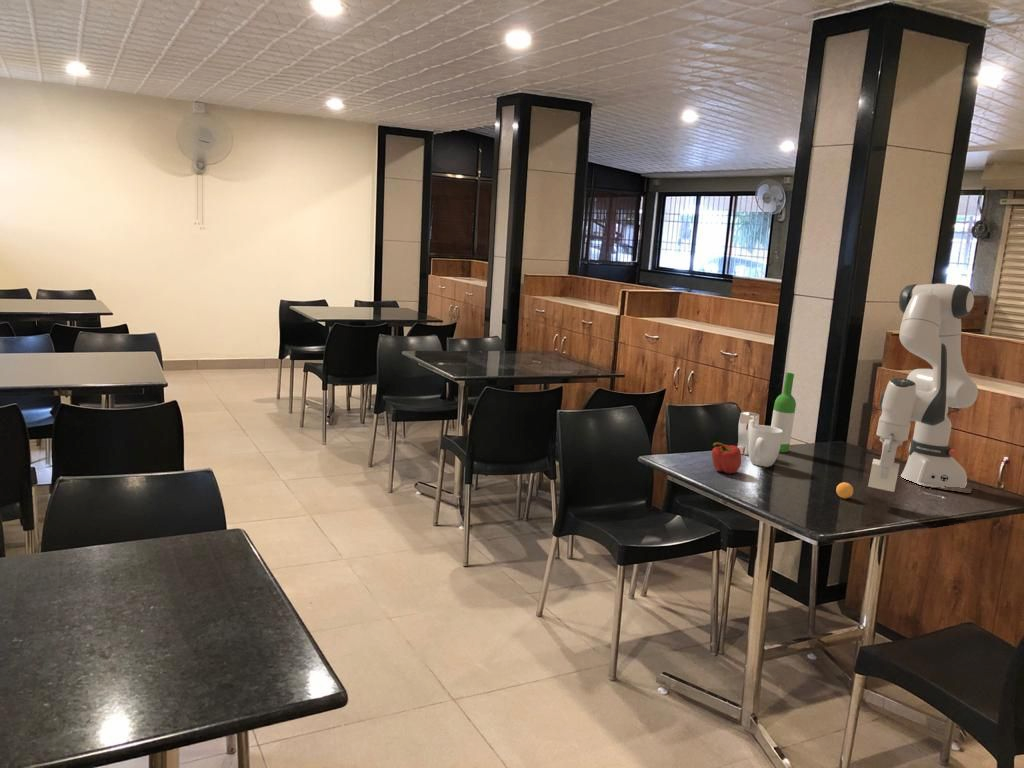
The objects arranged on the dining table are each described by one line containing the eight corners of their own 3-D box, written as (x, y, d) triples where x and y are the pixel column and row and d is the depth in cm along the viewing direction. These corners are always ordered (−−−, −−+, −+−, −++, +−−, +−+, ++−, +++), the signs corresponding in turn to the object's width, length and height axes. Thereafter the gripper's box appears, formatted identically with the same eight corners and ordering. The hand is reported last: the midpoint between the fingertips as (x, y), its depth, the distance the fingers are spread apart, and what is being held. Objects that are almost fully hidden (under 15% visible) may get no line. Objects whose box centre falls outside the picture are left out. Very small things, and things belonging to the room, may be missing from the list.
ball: (852, 497, 259) (855, 482, 258) (851, 501, 254) (854, 486, 253) (835, 494, 261) (838, 479, 260) (834, 498, 256) (836, 482, 255)
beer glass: (756, 456, 300) (762, 416, 297) (737, 454, 300) (743, 414, 297) (750, 451, 307) (756, 412, 304) (732, 449, 307) (738, 410, 304)
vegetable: (716, 476, 269) (720, 446, 267) (701, 466, 279) (705, 438, 277) (745, 476, 271) (750, 447, 270) (730, 467, 281) (734, 439, 280)
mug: (770, 473, 278) (775, 436, 276) (738, 466, 284) (743, 429, 282) (780, 464, 291) (786, 429, 289) (749, 458, 297) (755, 423, 294)
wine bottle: (792, 453, 310) (805, 375, 304) (774, 453, 308) (787, 374, 302) (780, 447, 317) (792, 371, 312) (763, 447, 315) (775, 370, 309)
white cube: (894, 486, 254) (899, 463, 252) (894, 492, 247) (898, 468, 246) (869, 481, 257) (873, 458, 256) (867, 486, 250) (872, 463, 249)
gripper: (903, 439, 238) (894, 485, 241) (904, 428, 256) (896, 470, 259) (880, 435, 241) (871, 480, 243) (882, 424, 259) (874, 466, 262)
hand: (884, 475), depth 251 cm, fingers closed on white cube, 7 cm apart
